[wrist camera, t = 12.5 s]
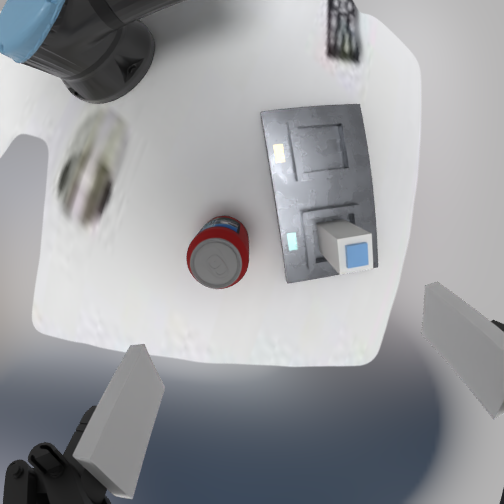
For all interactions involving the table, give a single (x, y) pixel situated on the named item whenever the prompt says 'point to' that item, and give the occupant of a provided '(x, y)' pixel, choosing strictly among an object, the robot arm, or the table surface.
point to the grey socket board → (318, 180)
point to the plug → (345, 246)
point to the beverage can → (219, 253)
